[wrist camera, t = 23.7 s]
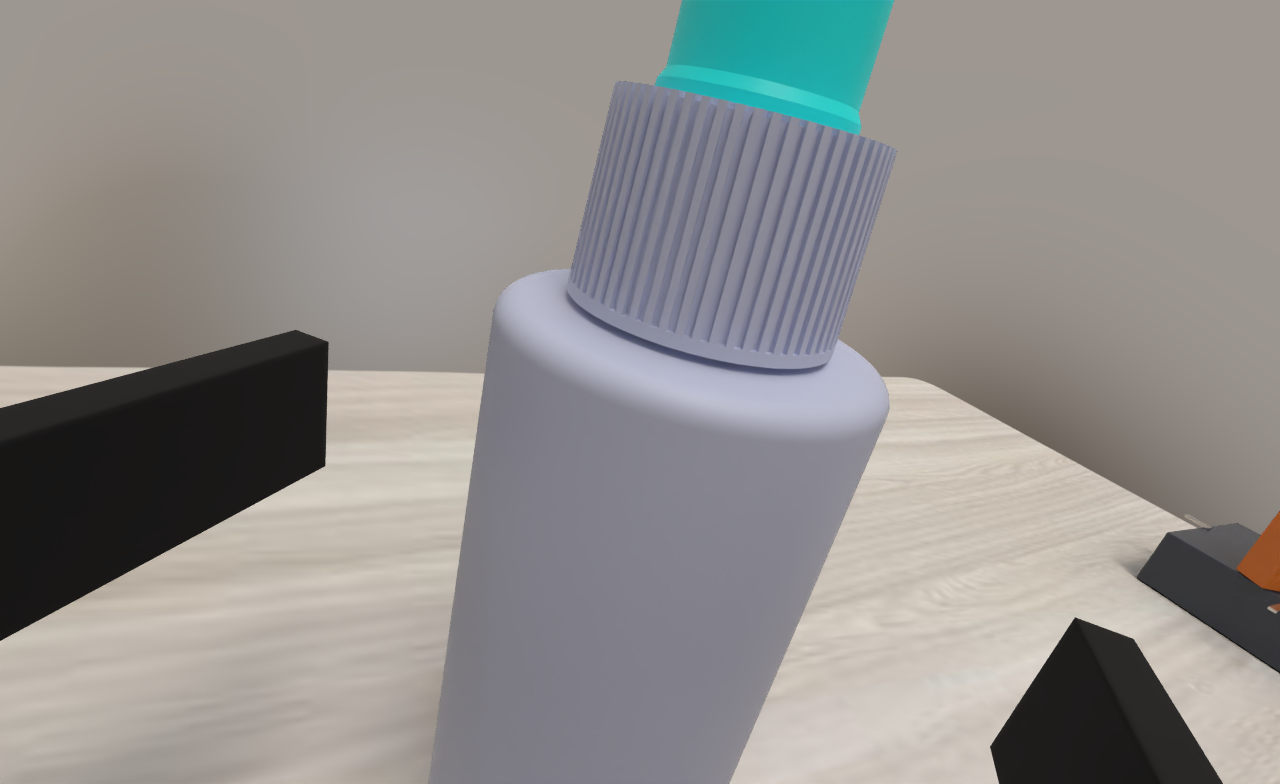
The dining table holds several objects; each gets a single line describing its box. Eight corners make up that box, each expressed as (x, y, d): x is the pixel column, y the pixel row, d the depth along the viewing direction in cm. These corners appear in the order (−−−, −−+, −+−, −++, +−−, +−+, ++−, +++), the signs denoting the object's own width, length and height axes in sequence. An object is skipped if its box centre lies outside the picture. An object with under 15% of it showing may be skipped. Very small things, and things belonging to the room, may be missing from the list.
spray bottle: (448, 1153, 11) (910, -743, 3) (387, 835, 16) (499, -277, 7) (700, 976, 15) (1263, -160, 6) (590, 754, 19) (831, -80, 11)
